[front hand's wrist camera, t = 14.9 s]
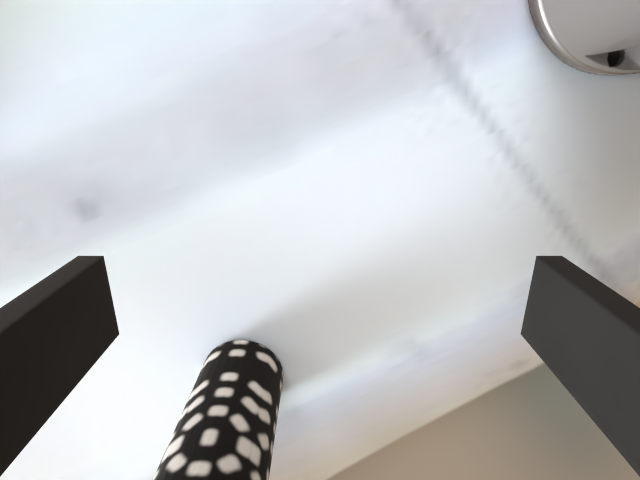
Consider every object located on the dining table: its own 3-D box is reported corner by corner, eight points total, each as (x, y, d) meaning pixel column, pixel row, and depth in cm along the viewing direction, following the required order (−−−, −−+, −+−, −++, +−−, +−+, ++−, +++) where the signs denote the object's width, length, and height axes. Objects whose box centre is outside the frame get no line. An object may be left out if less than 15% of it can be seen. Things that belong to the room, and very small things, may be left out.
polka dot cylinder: (200, 339, 40) (93, 553, 22) (282, 340, 40) (247, 555, 22) (207, 404, 43) (118, 643, 24) (283, 406, 43) (253, 645, 24)
